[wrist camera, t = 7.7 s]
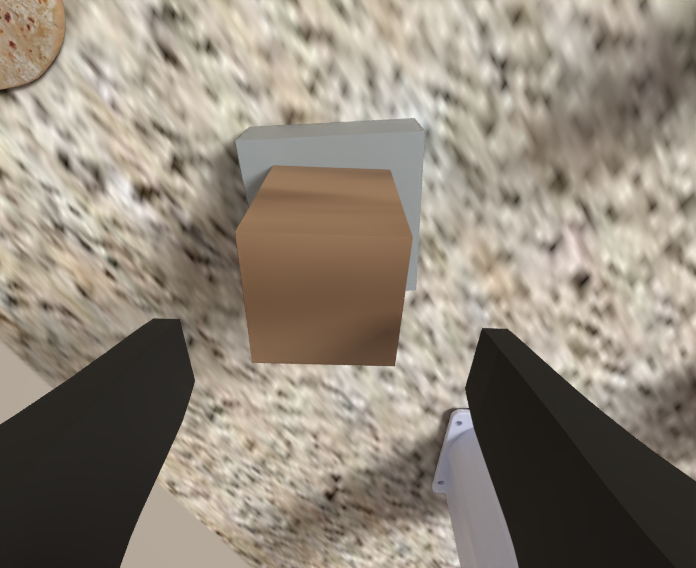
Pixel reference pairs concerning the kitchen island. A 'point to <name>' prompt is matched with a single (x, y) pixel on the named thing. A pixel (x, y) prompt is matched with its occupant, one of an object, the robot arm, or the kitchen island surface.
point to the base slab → (342, 158)
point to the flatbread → (29, 39)
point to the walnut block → (324, 266)
